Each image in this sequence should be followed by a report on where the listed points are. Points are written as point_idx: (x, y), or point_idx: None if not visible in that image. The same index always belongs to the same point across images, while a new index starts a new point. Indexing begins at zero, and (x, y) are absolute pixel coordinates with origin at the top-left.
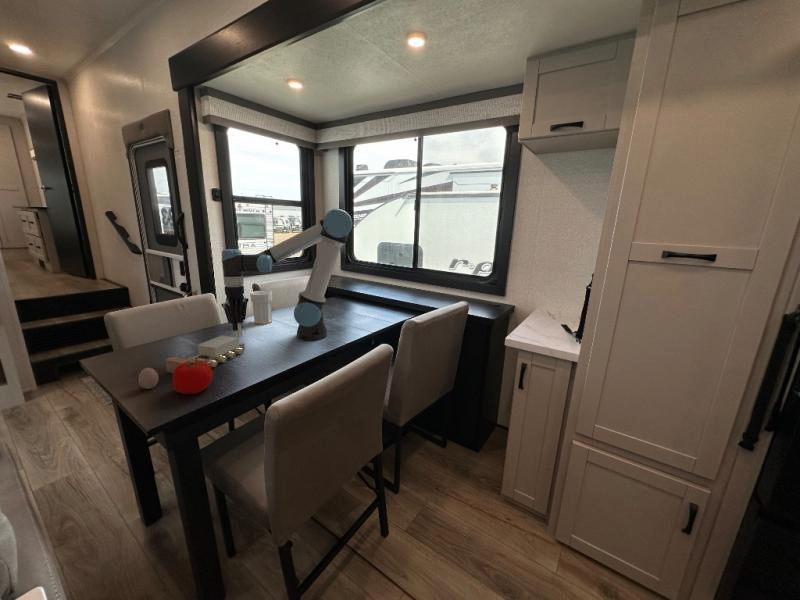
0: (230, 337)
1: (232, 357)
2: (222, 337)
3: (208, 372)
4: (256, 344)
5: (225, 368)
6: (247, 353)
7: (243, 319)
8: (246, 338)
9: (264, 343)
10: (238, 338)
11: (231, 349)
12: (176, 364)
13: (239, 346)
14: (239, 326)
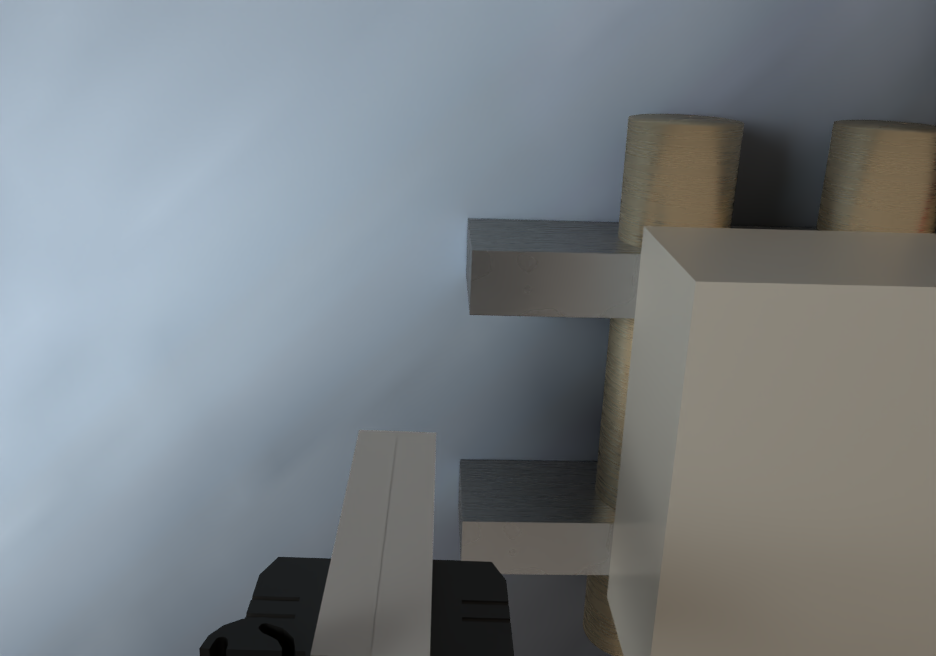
0: (710, 478)
1: (900, 123)
2: (755, 624)
3: None
4: (159, 211)
5: None
6: (586, 56)
7: None
8: (18, 569)
9: (43, 97)
10: (696, 276)
11: (856, 234)
12: None
13: (606, 249)
14: (390, 590)
